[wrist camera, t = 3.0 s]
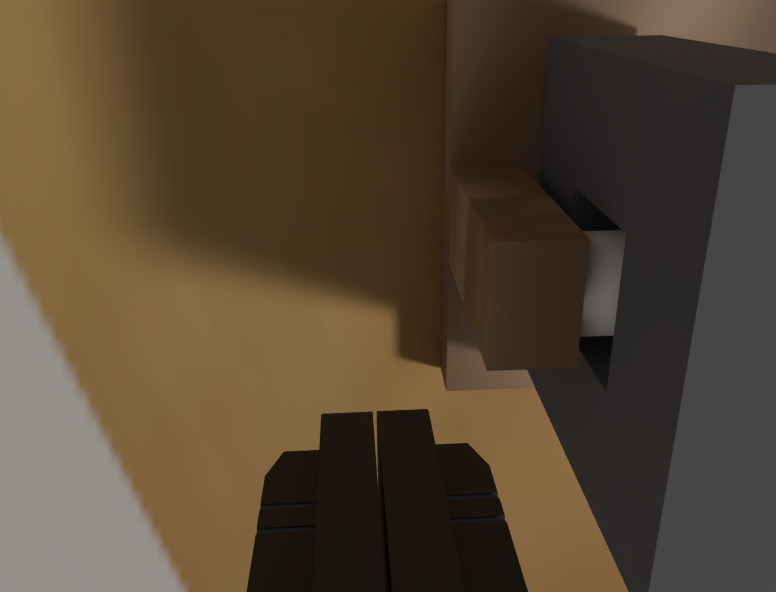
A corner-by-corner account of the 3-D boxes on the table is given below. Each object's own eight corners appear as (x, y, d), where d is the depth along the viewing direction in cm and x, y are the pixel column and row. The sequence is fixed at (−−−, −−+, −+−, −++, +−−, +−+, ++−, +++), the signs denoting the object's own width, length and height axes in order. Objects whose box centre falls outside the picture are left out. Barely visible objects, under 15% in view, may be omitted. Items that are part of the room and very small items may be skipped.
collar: (661, 35, 19) (946, 81, 10) (619, 365, 23) (796, 615, 14) (549, 37, 19) (735, 85, 10) (526, 368, 23) (642, 623, 14)
